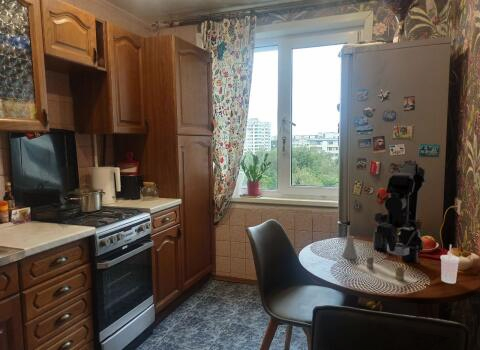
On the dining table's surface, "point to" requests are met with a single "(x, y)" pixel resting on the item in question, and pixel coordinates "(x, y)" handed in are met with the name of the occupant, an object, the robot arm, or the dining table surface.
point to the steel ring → (399, 249)
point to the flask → (350, 249)
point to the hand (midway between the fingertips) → (398, 249)
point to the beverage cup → (449, 268)
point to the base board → (386, 273)
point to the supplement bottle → (379, 242)
